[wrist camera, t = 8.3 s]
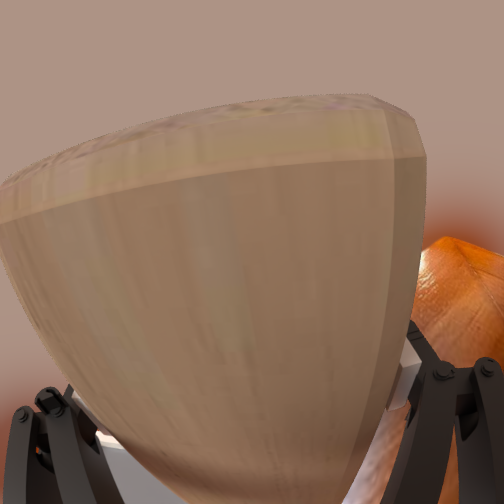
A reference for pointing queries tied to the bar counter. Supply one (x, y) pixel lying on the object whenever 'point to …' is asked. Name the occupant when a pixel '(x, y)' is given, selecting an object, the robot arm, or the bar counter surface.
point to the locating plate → (134, 476)
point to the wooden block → (229, 287)
